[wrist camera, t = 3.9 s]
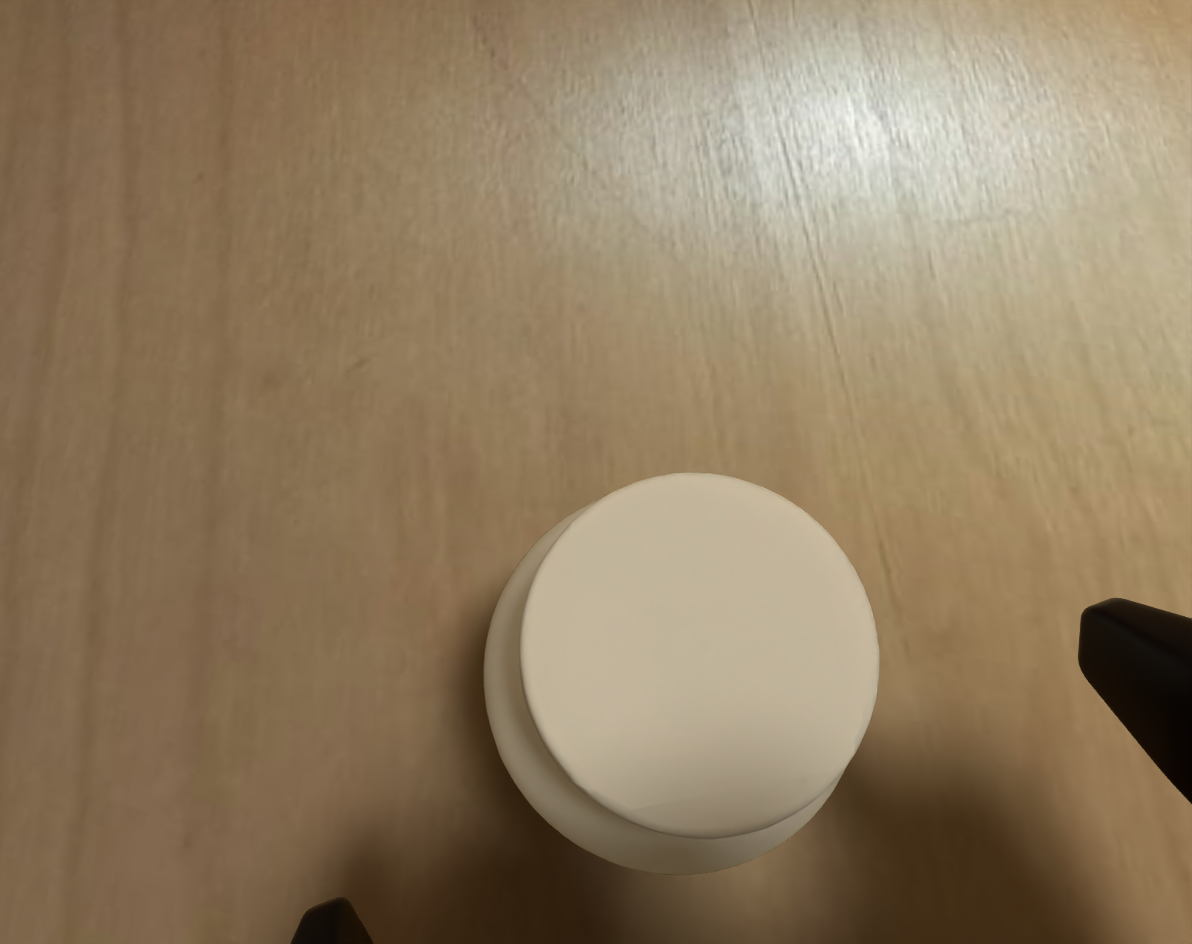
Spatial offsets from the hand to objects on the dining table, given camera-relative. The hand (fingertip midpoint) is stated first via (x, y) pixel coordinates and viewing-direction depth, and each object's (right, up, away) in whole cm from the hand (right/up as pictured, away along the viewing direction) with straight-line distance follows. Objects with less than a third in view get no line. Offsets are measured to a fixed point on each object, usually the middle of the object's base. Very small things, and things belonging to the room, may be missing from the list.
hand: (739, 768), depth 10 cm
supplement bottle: (-1, -2, +9) cm, 9 cm away
